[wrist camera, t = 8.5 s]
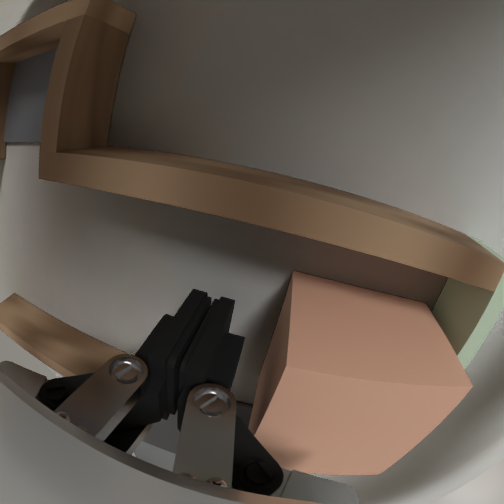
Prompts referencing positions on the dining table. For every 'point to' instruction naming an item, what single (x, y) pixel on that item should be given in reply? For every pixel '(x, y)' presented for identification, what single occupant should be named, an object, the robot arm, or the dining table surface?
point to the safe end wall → (468, 313)
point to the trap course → (184, 178)
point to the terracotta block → (352, 379)
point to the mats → (31, 117)
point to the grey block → (160, 443)
